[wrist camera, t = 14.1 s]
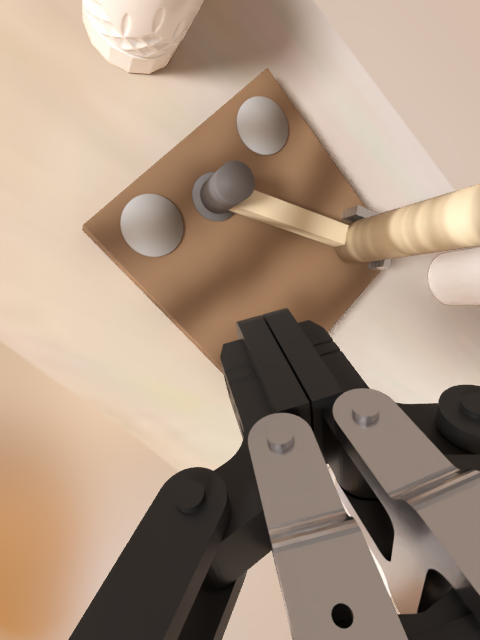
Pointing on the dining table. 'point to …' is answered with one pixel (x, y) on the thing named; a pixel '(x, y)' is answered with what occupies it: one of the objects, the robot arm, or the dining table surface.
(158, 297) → the stool seat
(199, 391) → the dining table surface
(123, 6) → the white cup
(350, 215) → the corner bracket
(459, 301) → the white pointed cylinder
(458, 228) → the hinged leg
